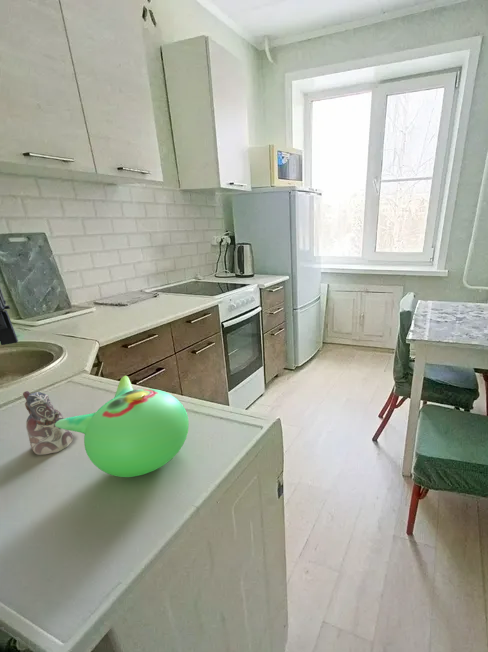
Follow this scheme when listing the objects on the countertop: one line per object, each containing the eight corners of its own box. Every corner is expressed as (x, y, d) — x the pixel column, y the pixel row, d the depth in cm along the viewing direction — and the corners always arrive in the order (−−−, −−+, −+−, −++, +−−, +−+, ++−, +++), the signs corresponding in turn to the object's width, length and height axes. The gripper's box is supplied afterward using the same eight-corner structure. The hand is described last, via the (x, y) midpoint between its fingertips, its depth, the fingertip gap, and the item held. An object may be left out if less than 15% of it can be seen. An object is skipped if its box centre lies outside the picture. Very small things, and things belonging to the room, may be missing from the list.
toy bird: (149, 505, 56) (127, 426, 50) (71, 483, 61) (42, 410, 55) (209, 442, 71) (198, 375, 65) (142, 429, 77) (126, 366, 70)
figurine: (44, 458, 68) (21, 404, 63) (26, 449, 72) (2, 397, 67) (79, 439, 74) (61, 388, 69) (60, 431, 77) (41, 382, 72)
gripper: (-20, 215, 59) (29, 348, 69) (-8, 216, 69) (33, 332, 80) (-79, 217, 56) (-19, 356, 66) (-57, 217, 66) (-8, 338, 76)
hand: (9, 342), depth 73 cm, fingers closed
